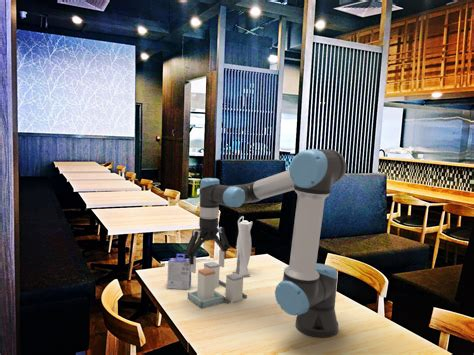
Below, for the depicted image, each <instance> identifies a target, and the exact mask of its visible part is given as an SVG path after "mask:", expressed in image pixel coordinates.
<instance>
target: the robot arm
mask: <svg viewBox="0 0 474 355" xmlns="http://www.w3.org/2000/svg"><path fill="white" fill-rule="evenodd" d="M346 171H347V162H346V160H345V158H344V156H343V155H342V154H341V153H340V152H339V151H337V150H335V149H332V148H331V149H330V148H329V149H321V148H320V149H318V148H310V149H304V150H302V151H300V152H298V153H297V154H296V155H295V156H294V157H293V158H292V160H291V162H290V164H289V169H288V170H285V171H282V172H279V173H276V174H272V175H270V176H268V177H265V178H261V179H258V180H256V181H252V182H250V183H249V182H248V183H245V184H236V185H235V184H234V185H224V184H223V185H222V184H220V179H218V178H215V177H214V178H213V177H203V178H202V179H201V180H200V185H199V219H198V220H199V221H198V224H199V230H196V229H195V230H192V232H191V237H190V239H189V242H188V244H187V246H186V248H185V251H184V254H185V256H188V259H189V264H191V270H190V271H191V273H193V274H195V273H197V272H196V271H197V255H196V254H197V253H198V251H199V249H200V248H201V246H202V245H203V244H204V243H206V242H208V241H214V242H215V243H216V245H217V246H218V247H219V251H218V264H219V266H220V267H221V268H224V267H225V259H226V256H227V252H228V250H230V249H231V245H230V244H229V240H228V238H227V236H226V233H225V228H224V227H222V226H219V218H218V217H219V214H220V213H219V209H220V207H219V206H220V205H221V206H224V207H225V206H226V207H231V208H239V207H241V206H242V205H243V204H249V203H257V202H259V201H261V200H264V199H267V198H270V197H274V196H277V195H281V194H284V193H285V194H286V193H287V192H291V191H295V193H296V194H297V199H296V205H295V206H296V208H295V216H294V224H293V231H292V232H293V233H292V239H291V240H292V241H291V250H290V259H289V264H288V266H286V267H285V268H284V269H283V276H282V280H281V281H280V282H279V283H278V284H277V285H276V287H275V290H274V294H275V300H276V303H277V304H278V305H279V306H280V309H281V310H282V311H284V312H285V313H287V314H288V315H290V316H296V318H295V327H296V329H297V330H298V331H299V332H301V333H302V334H305V335H307V336H310V337H313V338H314V337H315V338H330V337H333V336H335V335H337V333H338V331H339V322H338V320H337V319H338V318H337V314H336V309H335V308H336V298H337V296H336V295H337V288H338V287H337V284H338V271H337V269H336V268H335V267H334V266H330V265H328V264H324V263H320V262H319V263H317V262H318V261H317V260H318V253H319V252H318V251H319V248H320V246H319V245H320V237H321V232H322V230H321V229H322V222H323V217H324V215H323V214H324V207H325V200H326V198H328V197H329V196H330V195H331V193H332V185H333V184H335V183H338V182H339V181H340V180H342V178H344V176H345V174H346ZM217 234H218V235H219V236H220V238H219V236H218V235H217Z"/></svg>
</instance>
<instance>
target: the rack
mask: <svg viewBox="0 0 474 355" xmlns="http://www.w3.org/2000/svg"><path fill="white" fill-rule="evenodd" d="M220 267H221V266H219V263H217V262H215V261H210V262H205V263H203V269H205V268H210V269H212V270H213V271H215V288H217V287H219V286H221V287H224V288H225V296H224V295H222V294H221V293H219V292H218V291H216V290H214V291H215V292H217V293H219V294H220V295H222V296H224V303H226V304H227V305H229V304H230V303H235V302H240V301H242V300H243V299H244V300H246V299H247V298H248V296H247V293H246V294H245V293H244V292H243V291H244V290H243V289H244V277H243V276H241V275H239V274H237V273H235V274H233V273H231V274H227V275H225V276H226V277H225V282H224V281H222V280H221V279H220Z"/></svg>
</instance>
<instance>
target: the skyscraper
mask: <svg viewBox="0 0 474 355" xmlns="http://www.w3.org/2000/svg"><path fill="white" fill-rule="evenodd" d="M244 218H245V217H244V216H243V215H242V216H240V217H239V219H238V220H237V226H238V227H237V228H238V235H237V239H236V268H235V271H232V272H231V274H235V273H237V274H239V275H241V276H243V278H250V277H251V275H250V272H249V268H248V266H249V262H250V259H251V253H252V236H251V229H252V226H253V221H250V222H249V221H248V220H244ZM241 219H242V221H241Z"/></svg>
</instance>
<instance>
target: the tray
mask: <svg viewBox="0 0 474 355" xmlns="http://www.w3.org/2000/svg"><path fill="white" fill-rule="evenodd" d="M215 291H216V290H214V298H213V299H209V300H205V301H201V300H200V299H198V298H197V290H195V291H190V292H187V300H188V301H190V302H192V303H193V304H195V305H196V306H197V307H199V308H200V309H204V308H208V307H212V306H215V305H220V304H223V303H225V302H224V297H225V296H224V295H223V296H222V294H221V293H219V292H218V291H216V292H215ZM217 292H218V293H217ZM220 294H221V295H220Z"/></svg>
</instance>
